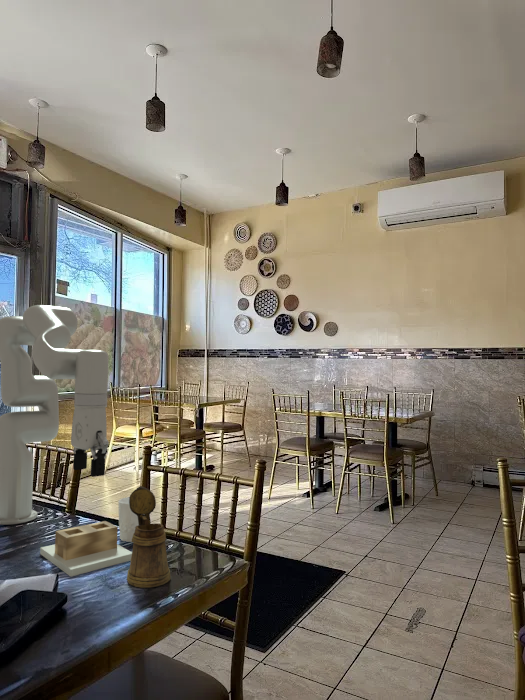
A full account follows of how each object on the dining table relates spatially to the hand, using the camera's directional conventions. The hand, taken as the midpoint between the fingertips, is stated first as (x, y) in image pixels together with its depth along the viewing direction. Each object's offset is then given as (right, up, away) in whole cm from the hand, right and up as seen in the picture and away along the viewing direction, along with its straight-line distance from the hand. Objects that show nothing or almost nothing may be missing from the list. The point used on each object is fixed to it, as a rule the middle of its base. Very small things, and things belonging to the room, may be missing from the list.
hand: (88, 472), depth 121 cm
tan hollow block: (0, -18, -1) cm, 18 cm away
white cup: (+7, -21, +13) cm, 26 cm away
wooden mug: (+17, -20, -11) cm, 28 cm away
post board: (0, -20, -1) cm, 20 cm away
